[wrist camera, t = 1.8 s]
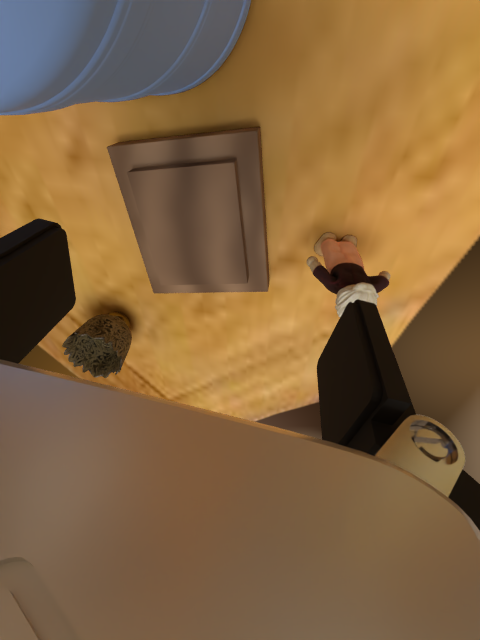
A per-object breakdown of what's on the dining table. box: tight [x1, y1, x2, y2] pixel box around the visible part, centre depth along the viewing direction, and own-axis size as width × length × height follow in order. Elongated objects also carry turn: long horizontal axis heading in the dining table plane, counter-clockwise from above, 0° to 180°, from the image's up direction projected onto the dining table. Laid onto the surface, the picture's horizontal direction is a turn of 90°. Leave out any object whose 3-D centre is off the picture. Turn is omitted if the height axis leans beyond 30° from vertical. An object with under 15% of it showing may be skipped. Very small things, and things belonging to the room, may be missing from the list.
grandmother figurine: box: [307, 232, 390, 317], centre depth 29 cm, size 8×4×13 cm, turn 94°
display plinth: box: [107, 127, 269, 293], centre depth 33 cm, size 14×16×4 cm
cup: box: [62, 312, 132, 378], centre depth 43 cm, size 8×7×8 cm
